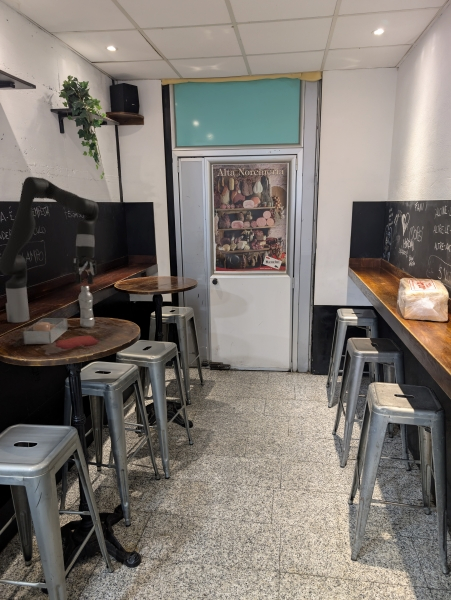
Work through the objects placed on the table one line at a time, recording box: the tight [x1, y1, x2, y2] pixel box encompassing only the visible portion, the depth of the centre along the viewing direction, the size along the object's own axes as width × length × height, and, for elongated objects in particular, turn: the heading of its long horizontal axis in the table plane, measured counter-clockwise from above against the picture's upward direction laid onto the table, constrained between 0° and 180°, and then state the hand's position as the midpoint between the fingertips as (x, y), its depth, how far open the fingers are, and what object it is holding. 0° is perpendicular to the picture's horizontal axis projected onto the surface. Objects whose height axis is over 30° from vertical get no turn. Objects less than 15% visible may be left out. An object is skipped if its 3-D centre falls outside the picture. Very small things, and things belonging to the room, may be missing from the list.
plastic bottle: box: [77, 285, 95, 328], centre depth 201 cm, size 6×7×20 cm
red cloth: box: [55, 335, 99, 350], centre depth 178 cm, size 18×14×2 cm
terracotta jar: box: [32, 322, 50, 331], centre depth 181 cm, size 7×7×7 cm
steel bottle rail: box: [22, 317, 69, 345], centre depth 186 cm, size 11×22×6 cm, turn 2°
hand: (84, 283), depth 180 cm, fingers open, 8 cm apart
